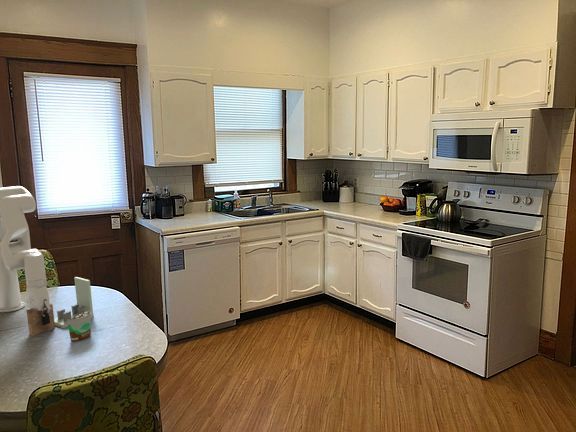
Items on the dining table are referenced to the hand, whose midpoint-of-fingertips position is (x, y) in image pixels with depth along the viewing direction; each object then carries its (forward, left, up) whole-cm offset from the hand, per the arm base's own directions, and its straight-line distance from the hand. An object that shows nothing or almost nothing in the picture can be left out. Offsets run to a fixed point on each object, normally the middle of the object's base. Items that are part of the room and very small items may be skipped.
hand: (41, 322), depth 211 cm
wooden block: (0, 0, -4) cm, 4 cm away
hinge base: (0, +14, -4) cm, 15 cm away
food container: (+21, +6, -4) cm, 22 cm away
